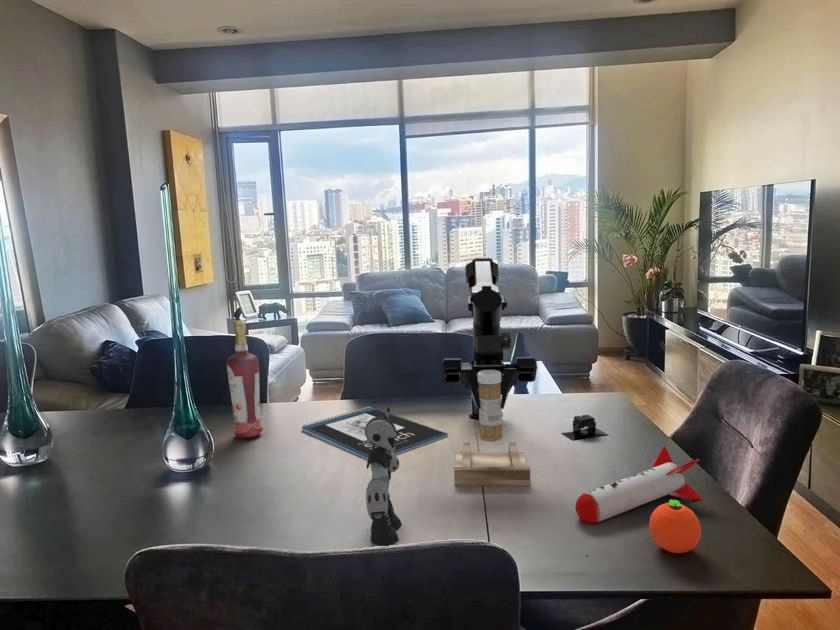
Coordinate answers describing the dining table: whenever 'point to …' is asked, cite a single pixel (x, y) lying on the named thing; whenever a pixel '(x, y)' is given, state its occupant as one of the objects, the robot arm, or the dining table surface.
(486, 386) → the sprinkles bottle
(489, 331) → the robot arm
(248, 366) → the liquor
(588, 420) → the black angular piece
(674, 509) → the clementine
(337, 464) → the dining table surface
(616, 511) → the model rocket
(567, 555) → the dining table surface
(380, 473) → the robot
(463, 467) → the cradle jig
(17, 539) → the dining table surface
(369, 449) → the sketchbook
